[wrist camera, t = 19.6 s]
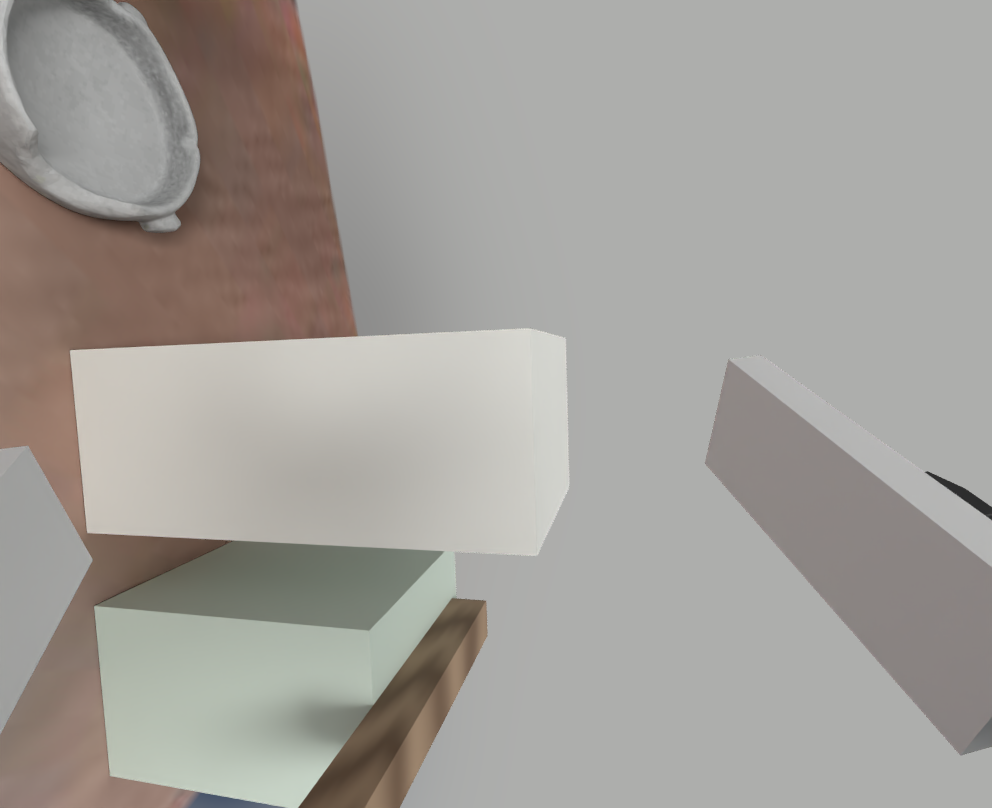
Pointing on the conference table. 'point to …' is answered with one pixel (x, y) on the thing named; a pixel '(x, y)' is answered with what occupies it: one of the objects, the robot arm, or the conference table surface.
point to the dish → (94, 111)
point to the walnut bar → (405, 716)
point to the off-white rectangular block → (329, 440)
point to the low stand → (259, 661)
